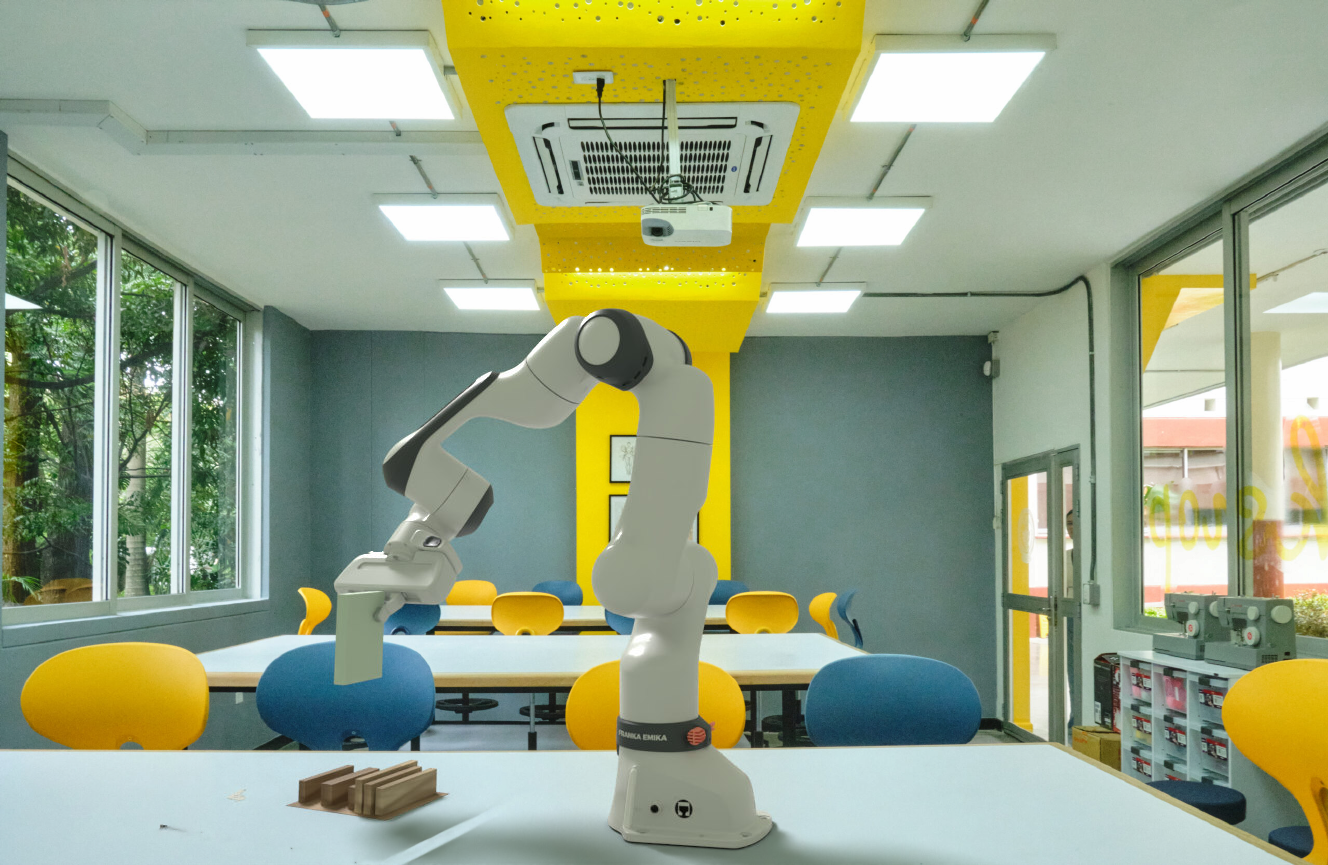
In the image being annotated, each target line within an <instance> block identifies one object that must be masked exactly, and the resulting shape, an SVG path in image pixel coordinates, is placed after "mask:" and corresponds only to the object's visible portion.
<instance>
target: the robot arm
mask: <svg viewBox="0 0 1328 865" xmlns="http://www.w3.org/2000/svg"><path fill="white" fill-rule="evenodd" d="M600 383H604V384H606V385H609V386H610V387H614V388H615V389H617V390H619V391H622V392H630V393H632V394H633V395H634V396H635V398H636V400H637V402H638V408H639V410H638V412H639V414H638V424H637V429H636V430H637V431H636V437H635V447H634V451H633V452H634V454H633V461H632V468H631V469H632V470H631V476H630V482H629V487H628V492H627V496H626V499H625V503H624V506H623V509H622V512H621V515H620V516H619V519H618V521H617V525H616V527H615V529H614V532H613V535H612V537H611V538H610V540H609V543H607V545H606V546H605V548H604V549H603V550H602V552H601V553H600V554H598V556H597V558H596V559H595V562H594V564H593V566H592V571H591V586H592V590H593V594H594V596H595V597H596V601H598V603H599V604H600V605H601V606H602V607H603V609H605V610H607V611H608V612H610V613H612V614H615V615H619V616H622V617H626V618H629V619H634V622H633V626H632V630H631V634H630V638H629V641H628V643H627V645H626V647H625V649H624V650H623V653H622V655H621V657H620V661H619V714H618V715H617V717H616V733H615V743H616V745H615V746H616V755H617V756H618V760H617V769H616V778H615V779H616V780H615V786H614V793H613V799H612V804H611V807H610V812H609V815H608V818H607V824H608V825H609V826H610V827H611V828H612V829H614V830H616V831H617V832H619V833H620V834H621V836H622V838H623V840H625V841H627V842H634V843H650V844H663V845H667V844H668V845H675V846H676V845H677V846H678V845H681V846H692V847H693V846H694V847H708V848H709V847H710V848H722V849H723V848H724V849H739V848H743V847H747V846H749V845H753V844H755V843H757V842H759V841H760V840H762V839H763V838H764V837H765V836H767V835H768V833H769V832H770V831H771V830H772V828H773V820H772V816H771V814H770V813H769V811H764V810H760V809H757V807H756V800H755V798H756V797H755V792H754V788H753V786H752V781H751V780H750V778H749V776H748V775H747V773H746V772H744V770H742V769H740V768H739V767H738V766H737V765H735V764H734V762H732V761H731V760H730V759H729V758H728V757H726V756H725V755H724V753H722V752H721V751H719V750H718V748H716V747H715V746H714V745H713V744H712V740H713V739H712V738H713V737H712V736H713V735H712V733H713V731H714V730H716V728H715V727H714V726H715V724H716V721H712V722H710V723H708V722H707V721H706V720H705V719H704V718H703V717H702V716H701V714H699V663H700V662H699V661H700V653H701V652H700V651H701V645H702V639H703V632H704V629H705V628H704V627H705V622H706V617H707V612H708V608H709V607H708V606H709V603H710V599H711V597H712V595H713V593H714V591H715V590H716V587H717V584H718V581H719V570H718V569H719V568H718V565H717V561H716V559H715V558H714V556H713V554H712V553H711V552H710V551H709V550H708V549H707V548H706V547H705V546H703V545H701V544H699V543H698V542H695V541H693V540H691V539H689V537H690V533H691V531H692V528H693V526H694V523H695V520H696V517H697V515H698V513H699V512H700V510H701V509H702V508H703V506H704V504H705V503H706V500H707V498H708V490H709V482H710V471H711V464H712V463H711V462H712V455H713V447H714V446H713V445H714V435H715V394H714V386H713V385H714V384H713V382H712V380H711V378H710V376H708V374H707V373H706V372H705V371H703V370H702V369H700V368H698V367H696V366H693V357H692V353H691V350H690V347H689V346H688V344H687V343H686V342H685V341H684V339H683V338H682V337H680V335H678V334H677V333H676V332H674V331H673V330H672V329H669V328H668V329H667V328H665V327H663V326H662V325H660V324H658V322H656V321H655V320H653V319H650V318H648V317H646V316H644V315H641V314H636V313H632V312H630V311H628V310H625V309H622V308H613V307H612V308H609V307H608V308H601V309H598V310H595V311H593V312H592V313H589V315H587V316H581V315H573V316H569V317H567V318H565V319H563V321H561V322H560V323H559V324H558V325H557V326H555V327H554V328H553V329H552V330H551V331H550V332H548V334H546V335H545V336H544V337H543V338H542V339H541V341H539V342H538V344H536V346H534V347H533V349H532V350H531V351H530V352H529V353H528V355H527V356H526V357H525V358H524V359H523V360H522V362H520V363H519V364H517V365H516V366H515V367H513V368H511V369H508V370H506V371H502V372H498V371H493V370H491V371H489V372H486V373H484V374H482V375H481V376H479V377H478V378H477V379H475V380H474V381H473V382H471V383H470V384H469V385H468V386H466V388H465V389H463V390H462V391H460V392H459V393H458V394H456V395H455V397H454V398H452V399H451V400H450V401H449V402H448V403H447V404H445V406H442V408H441V409H440V410H438V411H437V412H436V413H435V414H434V415H432V416H431V417H430V418H429V419H428V420H426V422H424V423H423V424H422V425H421V426H419V427H418V428H417V429H416V430H414V432H412V433H410V434H408V435H407V436H405V437H404V438H402V439H401V440H400V441H398V442H397V443H395V445H394V446H393V447H392V448H390V450H389V451H388V452H387V453H386V456H385V458H384V460H383V463H382V464H381V470H382V474H383V478H384V482H385V485H386V487H387V488H389V489H390V490H392V491H394V492H396V493H397V494H399V495H400V496H403V497H406V498H407V499H409V500H410V501H412V502H413V503H414V504H412V506H411V508H410V510H409V512H408V516H407V518H406V519H405V520H403V521H401V523H399V525H398V526H397V527H396V528H395V530H394V532H393V533H392V535H391V537H390V538H389V540H388V541H387V542H386V544H385V545H384V547H383V551H382V552H381V551H380V552H376V551H375V552H374V551H368V552H367V553H366V554H360V555H358V556H357V557H355V558H354V559H353V560H352V561H351V562H349V563H348V565H347V566H346V567H345V568H344V569H343V571H342V572H341V573H340V574H339V575H338V577H337V578H335V580H334V582H333V587H334V591H335V592H336V593H337V594H346V593H358V592H370V591H385V603H384V605H383V606H382V607H377V609H376V610H375V612H374V613H373V618H374V619H375V621H376V622H381V623H387V621H388V619H389V617H390V616H392V615H393V614H395V613H396V612H398V610H400V609H402V608H403V606H404V605H405V604H409V605H410V604H411V605H412V604H414V605H431V606H432V605H433V606H434V605H439V604H441V603H442V602H444V601H446V599H447V598H448V596H449V595H450V593H451V591H452V590H453V587H454V586H455V584H456V582H457V577H458V576H457V575H459V574H460V573H461V572H462V570H463V569H464V566H463V564H462V562H461V560H460V557H459V555H458V554H457V552H456V550H455V548H454V547H453V545H452V544H451V542H452V540H454V539H455V538H457V539H458V538H462V537H466V536H468V535H472V534H473V533H475V532H476V531H477V529H478V528H479V527H480V526H481V524H482V523H483V521H484V519H485V517H486V516H487V513H488V511H489V510H490V508H491V507H492V506H493V504H494V500H495V499H494V497H495V496H494V489H493V486H492V484H491V483H490V482H489V481H488V480H487V479H486V478H485V477H483V476H482V475H480V474H479V473H478V472H476V471H475V470H473V469H472V468H471V467H469V466H467V465H466V464H464V463H463V462H461V461H460V460H458V459H457V458H456V457H455V456H454V455H452V454H450V453H449V452H448V451H446V450H445V449H444V448H443V447H442V445H441V444H442V443H443V442H444V441H445V440H446V439H448V438H449V437H450V436H451V435H453V434H454V433H455V432H456V431H457V430H458V429H460V428H461V427H462V426H463V425H464V424H466V423H467V422H469V421H470V420H472V419H474V418H481V417H482V418H491V419H496V420H501V421H504V422H507V423H510V424H513V425H516V426H519V427H523V428H528V429H536V430H537V429H538V430H539V429H542V430H543V429H549V428H552V427H553V428H554V427H557V426H559V425H560V424H562V423H563V422H564V421H565V420H566V419H567V418H569V417H570V415H571V414H572V413H573V412H575V410H576V409H577V408H578V407H579V406H580V405H581V404H582V402H583V401H584V400H586V398H587V397H588V395H589V394H590V392H591V391H592V390H593V389H594V388H595V387H596V386H597V385H598V384H600Z"/></svg>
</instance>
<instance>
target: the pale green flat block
mask: <svg viewBox="0 0 1328 865" xmlns="http://www.w3.org/2000/svg"><path fill="white" fill-rule="evenodd" d="M336 599H337V600H336V623H335V624H336V625H335V642H334V643H335V645H334V646H335V647H334V648H335V650H334V651H335V652H334V671H333V672H334V673H333V685H336V686H337V685H338V686H348V685H353V684H356V683H361V682H367V681H371V680H376V679H380V678H383V660H384V659H383V656H384V655H383V653H384V631H385V630H384V628H385V626H384V625H385V624H384V623H381V622H376V621H375V619H374V618H373V613H374V612H375V610H376V609H377V607H382V606H383V605H385V604H386V602H385V591H370V592H358V593H346V594H338V593H337V596H336Z"/></svg>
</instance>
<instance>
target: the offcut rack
mask: <svg viewBox="0 0 1328 865" xmlns="http://www.w3.org/2000/svg"><path fill="white" fill-rule="evenodd" d="M418 764H419V762H418V760H416V759H415V760H414V759H410V760H407V761H404V762H401V763H399V764H396V765H393V766H390V767H387V768H383V769H380V768H377V767H367V768H366V767H365V768H363V769H360V770H358V771H357V770H356V771H355V765H353V764H346V765H343V766H340V767H337V768H333V769H330V770H327V771H325V772H321V773H318V774H315V775H311V776H309V777H305V778H303V779H299V780H298V796H297V798H298V799H297V800H298V801H295V802H291V803H289V804H286V805H285V807H291V808H292V807H293V808H298V809H299V808H300V809H306V810H313V811H318V812H319V811H320V812H326V813H334V814H338V815H339V814H341V815H346V816H347V815H348V816H354V817H360V818H367V819H373V820H381V821H388V820H390V819H394V818H395V817H397V816H400V815H402V814H405V813H407V812H410V811H411V810H414V809H417V808H419V807H421V806H423V805H426V804H429V803H431V802H433V801H435V800H438V799H440V798H443V797H445V796H449V794H450V793H449V792H440V791H437V780H438V778H437V777H438V776H437V774H438V769H437V768H434V767H429V768H426V769H423V766H421V765H418Z"/></svg>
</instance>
